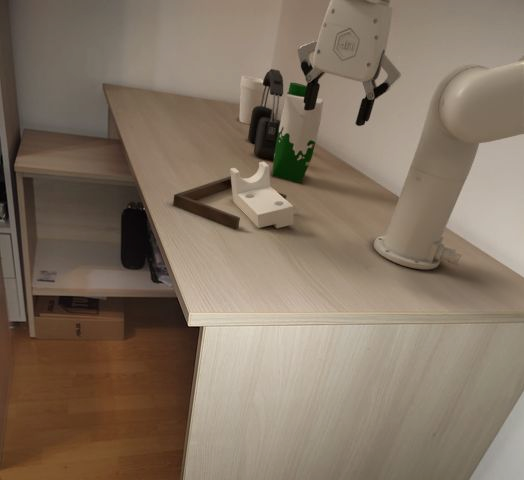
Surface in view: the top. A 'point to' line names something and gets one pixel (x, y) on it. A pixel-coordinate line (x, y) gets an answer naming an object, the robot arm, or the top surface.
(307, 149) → the milk carton
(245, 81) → the foam cup
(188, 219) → the top surface
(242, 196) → the bracket
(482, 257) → the top surface
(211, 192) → the bay
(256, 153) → the headphones
